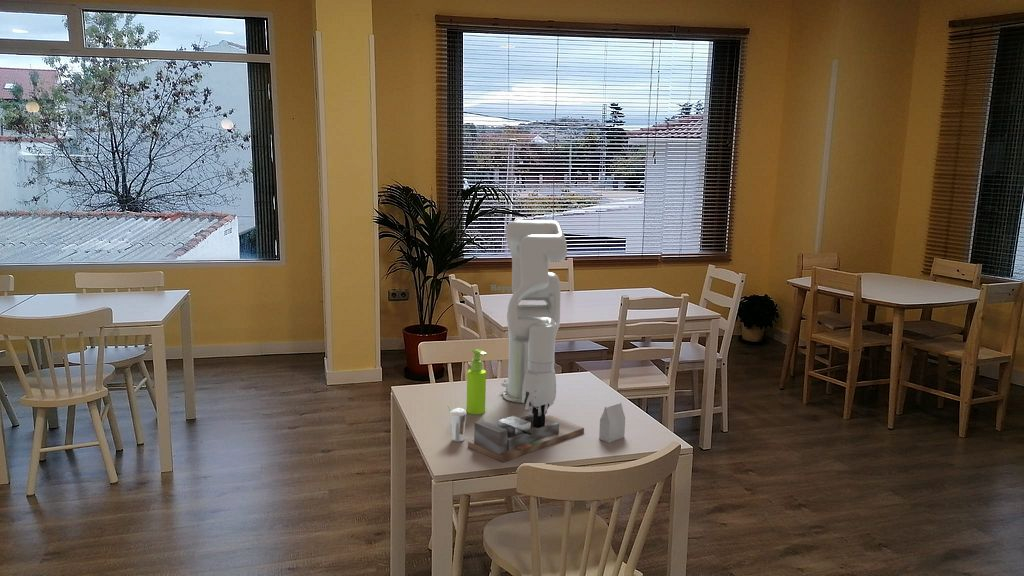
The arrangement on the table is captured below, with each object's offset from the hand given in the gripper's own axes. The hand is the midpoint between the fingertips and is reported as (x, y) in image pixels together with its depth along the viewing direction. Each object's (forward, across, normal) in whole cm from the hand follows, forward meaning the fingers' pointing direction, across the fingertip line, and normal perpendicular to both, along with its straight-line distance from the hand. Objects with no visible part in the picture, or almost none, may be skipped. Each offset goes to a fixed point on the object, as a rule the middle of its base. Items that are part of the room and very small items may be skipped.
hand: (538, 427), depth 214 cm
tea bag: (+3, -15, +15) cm, 21 cm away
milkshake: (+3, +20, -13) cm, 24 cm away
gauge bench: (+3, +5, 0) cm, 5 cm away
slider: (+1, +12, +2) cm, 12 cm away
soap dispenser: (+3, 0, -27) cm, 27 cm away
